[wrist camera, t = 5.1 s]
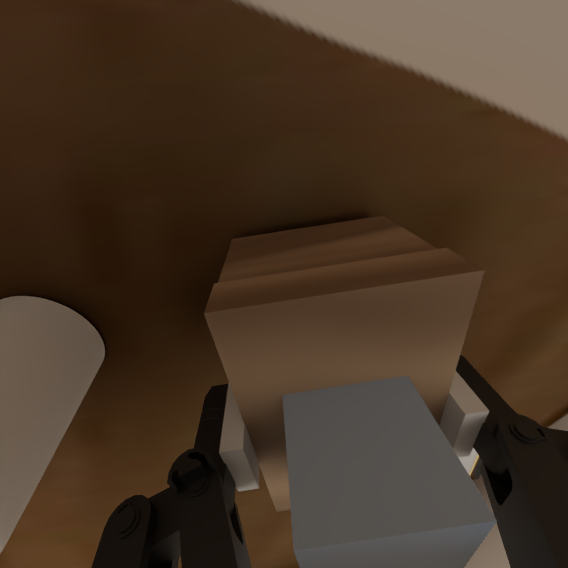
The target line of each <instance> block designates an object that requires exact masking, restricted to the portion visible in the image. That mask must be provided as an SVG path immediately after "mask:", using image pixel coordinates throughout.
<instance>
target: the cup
mask: <svg viewBox="0 0 568 568" xmlns="http://www.w3.org/2000/svg"><path fill="white" fill-rule="evenodd" d="M104 357H105V347H104V343H103V340H102V338H101V336H100V335H99V333H98V332H97V330H96V329H95V328H94V327H93V326H92V324H91V323H89V322H88V321H87V320H86V319H85V318H84V317H82V316H81V315H80V314H78V313H77V312H75V311H73V310H72V309H70V308H68V307H66V306H64V305H61V304H59V303H56V302H54V301H51V300H47V299H43V298H39V297H32V296H13V297H7V298H3V299H1V300H0V553H1V551H2V550H3V548H4V546H5V545H6V543H7V541H8V540H9V538H10V536H11V534H12V532H13V530H14V528H15V526H16V525H17V523H18V521H19V519H20V517H21V515H22V513H23V511H24V510H25V508H26V506H27V504H28V502H29V500H30V498H31V496H32V495H33V493H34V491H35V489H36V487H37V485H38V483H39V481H40V479H41V478H42V476H43V474H44V472H45V470H46V468H47V466H48V464H49V462H50V461H51V459H52V457H53V455H54V453H55V451H56V449H57V447H58V446H59V444H60V442H61V440H62V438H63V436H64V434H65V432H66V430H67V429H68V427H69V425H70V423H71V421H72V419H73V417H74V415H75V413H76V412H77V410H78V408H79V406H80V404H81V402H82V400H83V398H84V396H85V395H86V393H87V391H88V389H89V387H90V385H91V383H92V381H93V379H94V378H95V376H96V374H97V372H98V370H99V368H100V366H101V364H102V362H103V360H104Z"/></svg>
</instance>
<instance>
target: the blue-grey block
mask: <svg viewBox="0 0 568 568" xmlns="http://www.w3.org/2000/svg"><path fill="white" fill-rule="evenodd" d="M282 396H283V410H284V424H285V437H286V451H287V465H288V478H289V492H290V506H291V520H292V533H293V547H294V553H295V556H296V558H297V561H298V564H299V566H300V568H464V567H465V565H466V564H467V562H468V561H469V560H470V558H471V557H472V555H473V554H474V552H475V551H476V550H477V548H478V547H479V546H480V544H481V543H482V541H483V540H484V539H485V537H486V536H487V534H488V533H489V531H490V530H491V529H492V527H493V526H494V524H495V523H496V522H497V520H496V518H495V517H494V515H493V514H492V512H491V510H490V509H489V507H488V506H487V504H486V502H485V500H484V499H483V497H482V495H481V494H480V492H479V491H478V489H477V487H476V486H475V484H474V482H473V481H472V479H471V478H470V476H469V474H468V473H467V471H466V469H465V468H464V466H463V464H462V463H461V461H460V460H459V458H458V456H457V455H456V453H455V451H454V450H453V448H452V447H451V445H450V443H449V442H448V440H447V438H446V437H445V435H444V433H443V432H442V430H441V429H440V427H439V425H438V424H437V422H436V420H435V419H434V417H433V416H432V414H431V412H430V411H429V409H428V407H427V406H426V404H425V402H424V401H423V399H422V398H421V396H420V394H419V393H418V391H417V389H416V388H415V386H414V385H413V383H412V381H411V380H410V378H409V376H402V377H396V378H389V379H383V380H376V381H370V382H364V383H357V384H351V385H344V386H338V387H331V388H325V389H318V390H312V391H305V392H299V393H292V394H286V395H282Z"/></svg>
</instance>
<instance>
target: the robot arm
mask: <svg viewBox="0 0 568 568" xmlns="http://www.w3.org/2000/svg"><path fill="white" fill-rule="evenodd" d="M439 427H440V429H441V430H442V432H443V433H444V435H445V437H446V438H447V440H448V442H449V443H450V445H451V447H452V448H453V450H454V451H455V453H456V455H457V456H458V458H459V457H466V456H470V453H471V451H472V449H473V448H474V449H475V451H476V452H477V453H478V455H479V456H480V460H479V462H478V464H477V466H476V468H475V470H474V479H478V478H479V476H480V475H481V474H482V477H483V481H484V484H485V487H486V490H487V493H488V497H489V500H490V503H491V506H492V509H493V512H494V516H495V518H496V520H497V525H498V529H499V532H500V535H501V538H502V541H503V544H504V548H505V551H506V554H507V557H508V560H509V564H510V567H511V568H568V431H562V430H555V429H549V428H545V427H542V426H541V425H539V424H538V423H537V422H536V421H534V420H532V419H530V418H528V417H526V416H523V415H519V414H517V413H516V412H515V411H514V410H513V409H512V408H511V407H510V406H509V405H508V404H507V403H506V402H505V401H504V400H503V399H502V398H501V396H500V395H499V394H498V393H497V392H496V391H495V390H494V389H493V388H492V387H491V386H490V385H489V384H488V382H487V381H486V380H485V379H484V378H483V377H481V375H480V374H479V373H478V372H477V371H476V370H475V369H473V366H472V365H471V364H470V363H469V362H468V361H467V360H466V359H465V358H464V357H463V356H462V355H460V357H459V360H458V364H457V367H456V371H455V374H454V377H453V381H452V384H451V388H450V391H449V395H448V398H447V401H446V405H445V408H444V412H443V415H442V418H441V422H440V425H439ZM167 483H168V484H169V486H170V487H169V488H167V489H165V490H164V491H162V492H160V493H158V494H156V495H154V496H152V497H150V498H149V499H148V498H146V497H145V496H143V495H134V496H132V497H130V498H128V499H126V500H125V501H124V502H122V503H121V504H120V505H119V506H118V507H117V508H116V509H115V510H114V512H113V513H112V514H111V516H110V517H109V519H108V521H107V523H106V526H105V528H104V530H103V534H102V537H101V540H100V543H99V546H98V549H97V552H96V555H95V558H94V562H93V565H92V568H178V560H179V557H180V556H181V562H182V568H251V564H250V560H249V555H248V551H247V547H246V543H245V539H244V534H243V530H242V526H241V522H240V518H239V513H238V509H237V505H236V503H235V501H234V499H235V486H236V487H237V489H238V491H245V490H251V489H258V488H259V462H258V459H257V456H256V453H255V451H254V448H253V445H252V442H251V440H250V437H249V434H248V431H247V429H246V426H245V423H244V422H243V419H242V416H241V413H240V411H239V408H238V405H237V403H236V400H235V397H234V394H233V392H232V389H231V386H230V383H229V384H225V385H218V386H212V387H211V389H210V390H209V392H208V394H207V395H206V397H205V400H204V405H203V411H202V414H201V418H200V423H199V427H198V432H197V436H196V441H195V445H194V448H193V449H190V450H187V451H186V452H184V453H183V454H181V455H180V456H179V457H178V458H177V459H176V461H175V462H174V463H173V465H172V467H171V469H170V471H169V474H168V481H167Z"/></svg>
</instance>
